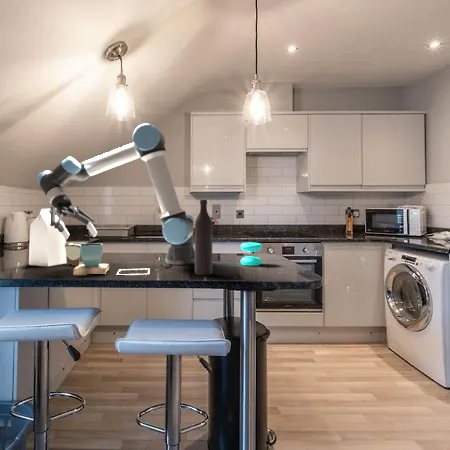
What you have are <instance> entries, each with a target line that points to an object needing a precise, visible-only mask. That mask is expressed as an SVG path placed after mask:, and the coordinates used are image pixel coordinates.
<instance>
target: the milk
mask: <svg viewBox="0 0 450 450" xmlns="http://www.w3.org/2000/svg"><path fill="white" fill-rule="evenodd" d="M49 210H50V208H41V210H40V212H39V215H38V216H36V217H35V219H33V221H32V222H31V224H30V225H29V249H28V250H29V251H28V252H29V253H28V254H29V256H28V265H29V266H37V267H38V266H39V267H53V266H58V265H63V264H64V265H65V264H67V262H66V250H65V247H64V246H65V243H67V239H65V238H64V236H63V235H62V233H61V232H59V230H58V229H56V228H54V227H55V226H50V216H51V214H50V212H49ZM58 218H59V216H58V215H56V222H57V220H58ZM61 223H63V224H64V226H65V227H66V225H65V223H64V222H63V221H62V220H61ZM61 223H60V224H61Z"/></svg>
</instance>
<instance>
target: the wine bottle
mask: <svg viewBox="0 0 450 450" xmlns="http://www.w3.org/2000/svg"><path fill="white" fill-rule="evenodd" d="M199 205H200V209H199V213H198V215H197V217H196V220H195V221H194V250H195V263H194V274H195V275H197V276H210V275H212V274H213V223H212V220H211V217H210V214H209V212H208V209H207V208H208V207H207V206H208V200H207V199H200V200H199Z"/></svg>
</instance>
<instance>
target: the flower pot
mask: <svg viewBox="0 0 450 450" xmlns="http://www.w3.org/2000/svg"><path fill="white" fill-rule="evenodd" d="M103 247H104V245H103V243H98V242H97V243H85V244H80V252H81V259H82V262H83V264H84V266H85V267H91V266H99V264H101V262H102V258H103V249H104V248H103Z"/></svg>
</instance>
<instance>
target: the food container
mask: <svg viewBox="0 0 450 450" xmlns="http://www.w3.org/2000/svg"><path fill="white" fill-rule="evenodd" d="M80 244H86V242H83V241H82V242H80V241H79V242H77V241H76V242H72V241H71V242H66V243H65V246H64V247H65V250H66V262H67V263H66V265H69V264H72V265H71V266H77V265H80V264H83V262H82V259H81V252H80Z"/></svg>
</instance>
